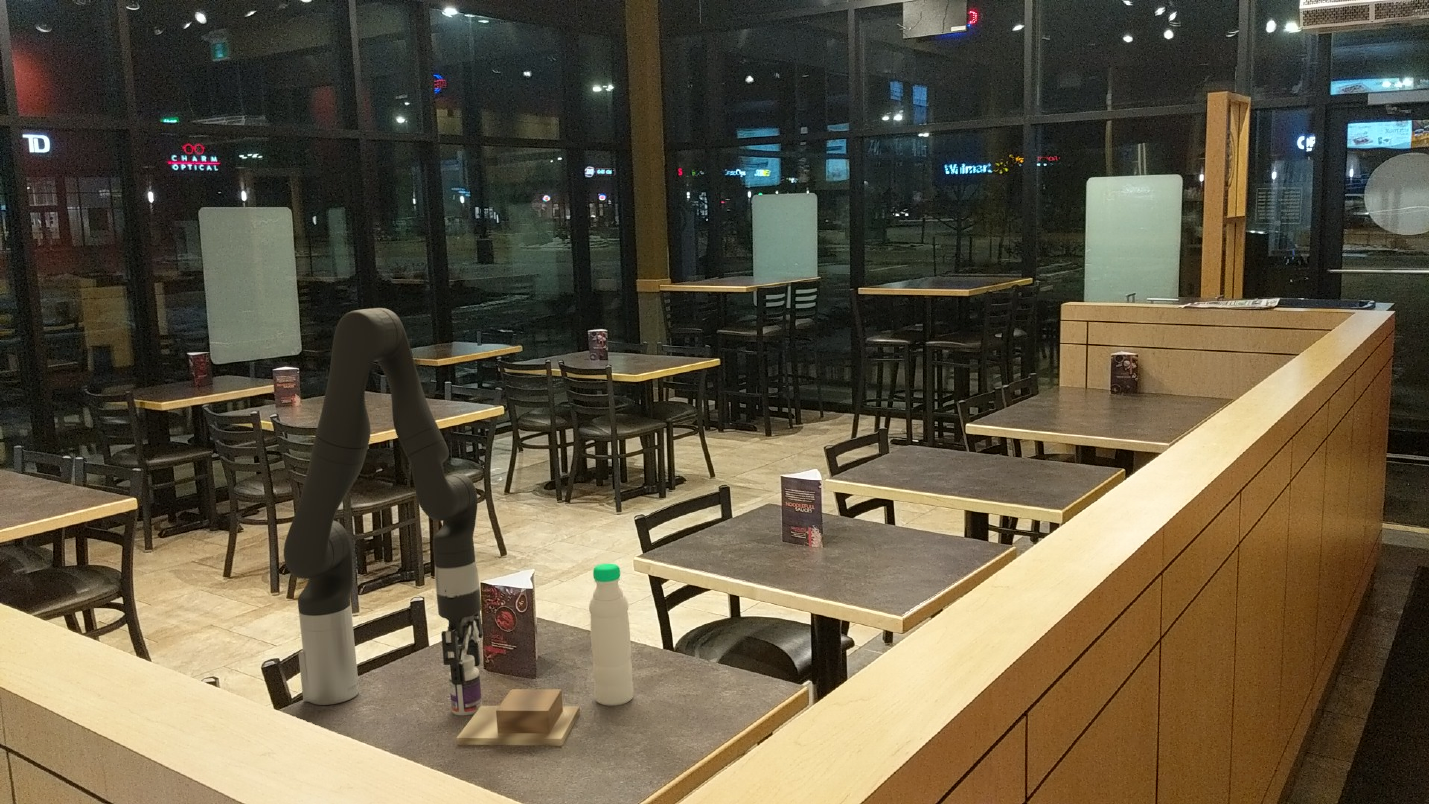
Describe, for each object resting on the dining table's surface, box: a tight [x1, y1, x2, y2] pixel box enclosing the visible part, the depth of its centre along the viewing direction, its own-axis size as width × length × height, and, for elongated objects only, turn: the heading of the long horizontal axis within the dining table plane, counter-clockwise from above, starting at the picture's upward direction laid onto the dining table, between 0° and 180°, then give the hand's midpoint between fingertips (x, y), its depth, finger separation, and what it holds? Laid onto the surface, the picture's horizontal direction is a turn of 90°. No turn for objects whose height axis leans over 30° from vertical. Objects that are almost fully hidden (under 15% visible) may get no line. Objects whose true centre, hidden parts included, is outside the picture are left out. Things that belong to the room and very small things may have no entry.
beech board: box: [456, 705, 581, 747], centre depth 199 cm, size 18×13×1 cm
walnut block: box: [496, 688, 563, 733], centre depth 198 cm, size 9×9×4 cm
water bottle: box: [588, 563, 635, 707], centre depth 207 cm, size 7×7×25 cm
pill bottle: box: [448, 654, 483, 716], centre depth 207 cm, size 5×5×10 cm
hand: (466, 674), depth 207 cm, fingers open, 8 cm apart
